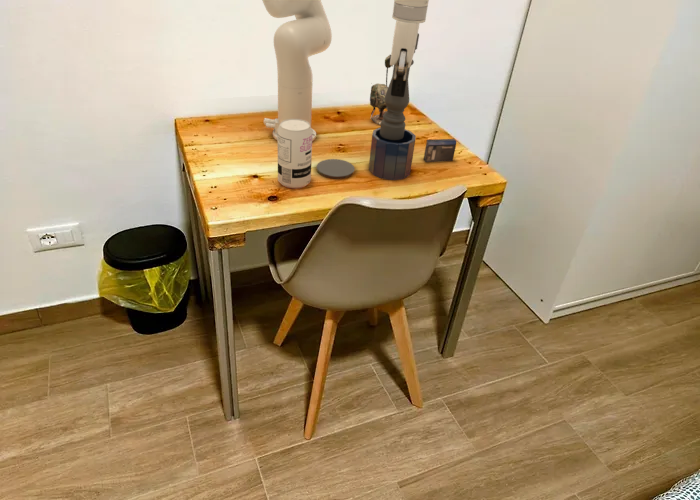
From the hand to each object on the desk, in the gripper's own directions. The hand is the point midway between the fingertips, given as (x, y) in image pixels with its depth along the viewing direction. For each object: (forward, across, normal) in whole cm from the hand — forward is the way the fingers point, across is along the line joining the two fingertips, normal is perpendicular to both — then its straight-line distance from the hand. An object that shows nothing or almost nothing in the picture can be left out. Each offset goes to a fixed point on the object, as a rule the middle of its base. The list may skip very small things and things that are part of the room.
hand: (398, 91), depth 128 cm
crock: (+21, 0, +1) cm, 21 cm away
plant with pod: (+22, -34, -4) cm, 40 cm away
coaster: (+22, +4, -13) cm, 26 cm away
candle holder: (+12, 0, 0) cm, 12 cm away
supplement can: (+22, +13, -22) cm, 34 cm away
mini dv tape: (+21, -10, +14) cm, 27 cm away
